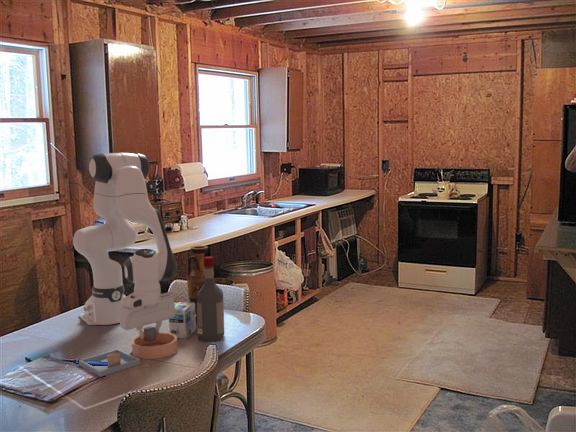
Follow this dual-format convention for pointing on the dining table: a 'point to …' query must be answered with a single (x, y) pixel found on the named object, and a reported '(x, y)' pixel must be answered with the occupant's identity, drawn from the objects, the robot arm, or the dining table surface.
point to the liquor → (210, 307)
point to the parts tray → (101, 371)
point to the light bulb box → (183, 320)
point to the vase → (196, 274)
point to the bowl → (155, 346)
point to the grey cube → (150, 334)
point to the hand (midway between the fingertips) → (149, 335)
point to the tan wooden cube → (113, 359)
